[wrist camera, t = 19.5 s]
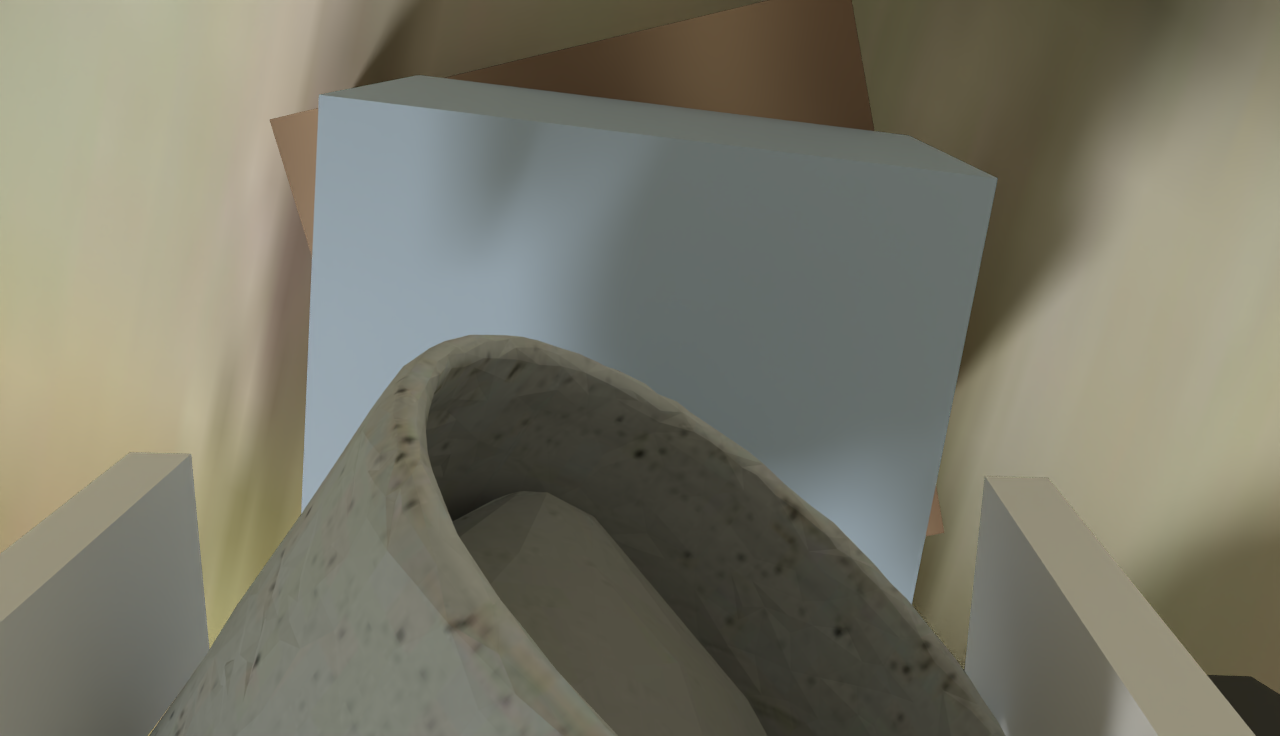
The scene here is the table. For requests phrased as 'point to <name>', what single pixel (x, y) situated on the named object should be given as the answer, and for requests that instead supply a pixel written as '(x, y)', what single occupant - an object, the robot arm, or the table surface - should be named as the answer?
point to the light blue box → (659, 274)
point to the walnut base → (678, 81)
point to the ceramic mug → (565, 580)
